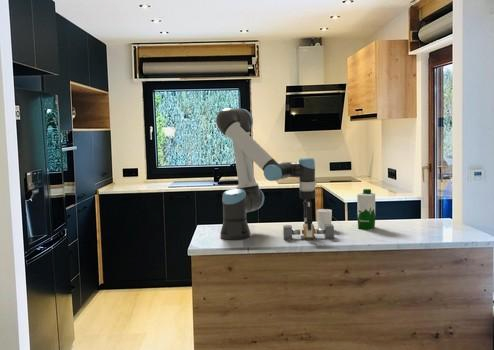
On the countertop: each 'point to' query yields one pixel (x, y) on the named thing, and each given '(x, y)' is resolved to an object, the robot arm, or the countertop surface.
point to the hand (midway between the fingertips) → (308, 233)
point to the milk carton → (366, 209)
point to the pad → (308, 238)
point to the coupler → (305, 231)
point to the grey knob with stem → (327, 231)
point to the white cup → (323, 217)
